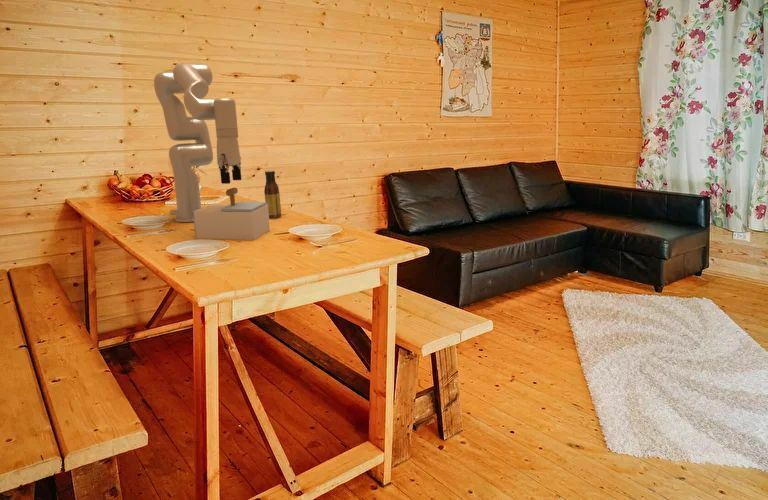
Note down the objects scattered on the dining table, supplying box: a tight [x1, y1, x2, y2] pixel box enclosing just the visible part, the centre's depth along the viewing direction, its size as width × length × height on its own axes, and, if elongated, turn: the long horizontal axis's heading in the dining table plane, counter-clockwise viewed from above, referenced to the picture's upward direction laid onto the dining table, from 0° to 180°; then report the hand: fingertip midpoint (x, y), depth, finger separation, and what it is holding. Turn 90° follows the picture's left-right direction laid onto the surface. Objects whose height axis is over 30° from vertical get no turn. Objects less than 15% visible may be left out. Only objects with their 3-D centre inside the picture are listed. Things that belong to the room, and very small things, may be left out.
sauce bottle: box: [263, 169, 282, 219], centre depth 241 cm, size 6×6×20 cm
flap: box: [221, 187, 267, 212], centre depth 209 cm, size 12×15×7 cm
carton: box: [193, 202, 271, 241], centre depth 212 cm, size 23×16×10 cm
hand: (231, 181), depth 208 cm, fingers open, 9 cm apart
